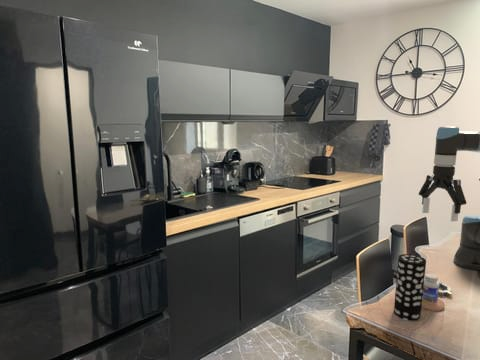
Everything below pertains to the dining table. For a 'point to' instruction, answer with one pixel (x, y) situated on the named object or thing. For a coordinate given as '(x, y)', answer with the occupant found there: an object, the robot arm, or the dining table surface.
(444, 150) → the robot arm
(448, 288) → the collar
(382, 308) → the dining table surface
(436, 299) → the pill bottle
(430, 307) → the peach disc
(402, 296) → the spotted tube
